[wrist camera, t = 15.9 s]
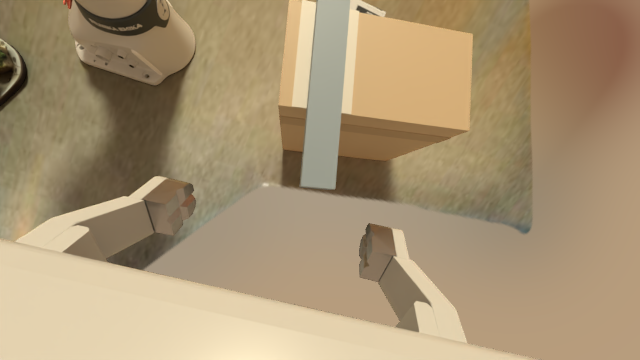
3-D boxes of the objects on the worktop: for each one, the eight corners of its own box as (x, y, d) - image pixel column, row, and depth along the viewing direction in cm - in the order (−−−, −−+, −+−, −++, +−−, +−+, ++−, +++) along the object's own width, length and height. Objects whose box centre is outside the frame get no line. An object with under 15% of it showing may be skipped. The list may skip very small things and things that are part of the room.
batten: (299, 187, 26) (300, 186, 24) (316, 3, 28) (319, -20, 25) (330, 190, 27) (335, 189, 24) (344, 9, 29) (351, -13, 26)
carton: (282, 150, 53) (278, 105, 27) (288, 93, 54) (289, -3, 28) (385, 161, 56) (470, 131, 30) (389, 107, 57) (473, 33, 31)
